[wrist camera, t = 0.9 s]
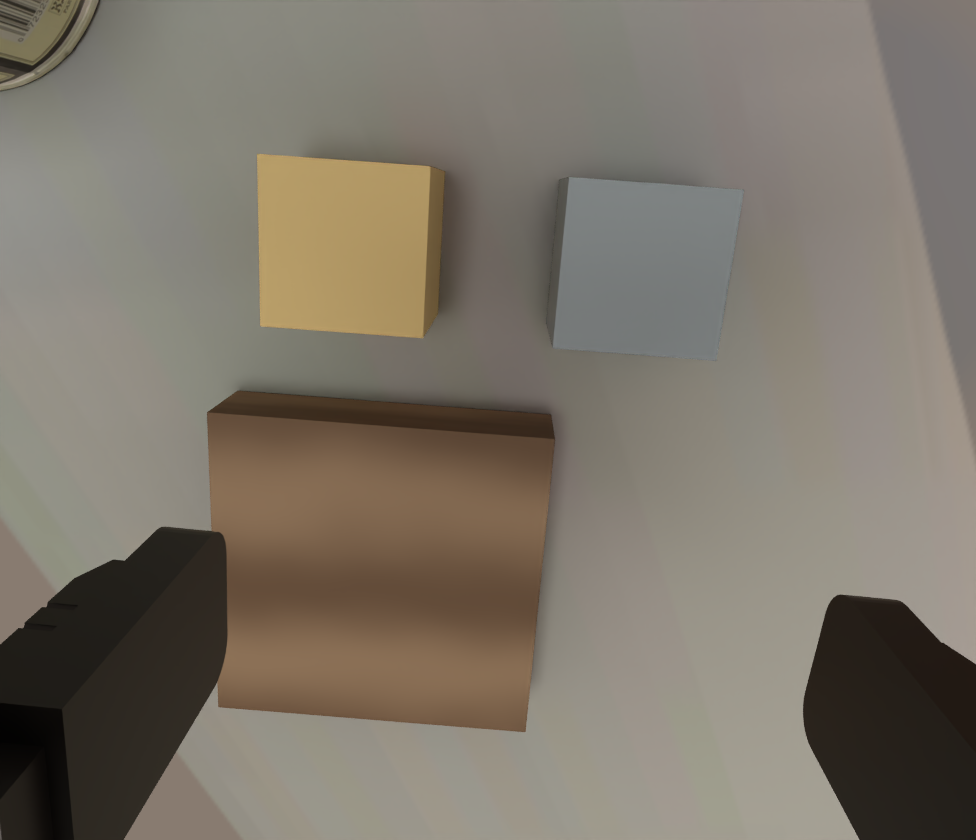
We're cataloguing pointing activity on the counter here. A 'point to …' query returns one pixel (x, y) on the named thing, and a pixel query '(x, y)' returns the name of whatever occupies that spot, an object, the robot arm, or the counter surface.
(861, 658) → the robot arm
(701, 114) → the counter surface
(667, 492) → the counter surface
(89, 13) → the coffee can
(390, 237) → the ochre block
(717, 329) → the slate block
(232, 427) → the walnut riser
